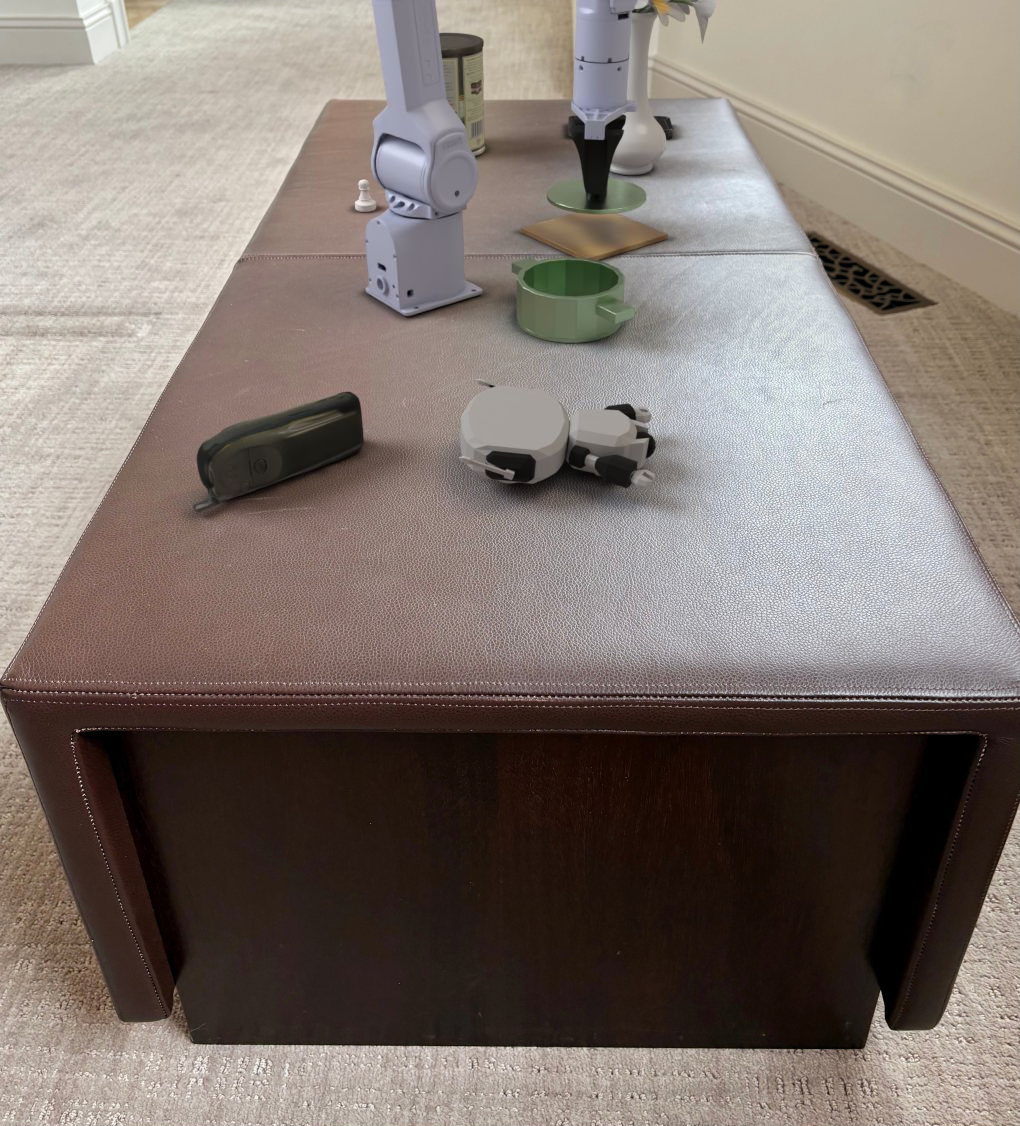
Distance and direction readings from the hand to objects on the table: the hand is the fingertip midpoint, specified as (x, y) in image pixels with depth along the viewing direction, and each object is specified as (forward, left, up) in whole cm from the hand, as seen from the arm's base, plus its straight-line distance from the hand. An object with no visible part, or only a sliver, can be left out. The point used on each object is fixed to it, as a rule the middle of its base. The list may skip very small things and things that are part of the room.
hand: (595, 188), depth 119 cm
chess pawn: (-16, +24, -6) cm, 29 cm away
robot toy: (-35, -36, -6) cm, 51 cm away
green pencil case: (-53, -24, -6) cm, 58 cm away
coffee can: (+6, +38, -6) cm, 39 cm away
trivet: (0, 0, -5) cm, 5 cm away
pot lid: (0, 0, -1) cm, 1 cm away
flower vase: (+21, +16, -6) cm, 27 cm away
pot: (-17, -16, -5) cm, 24 cm away
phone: (+31, +30, -5) cm, 43 cm away
